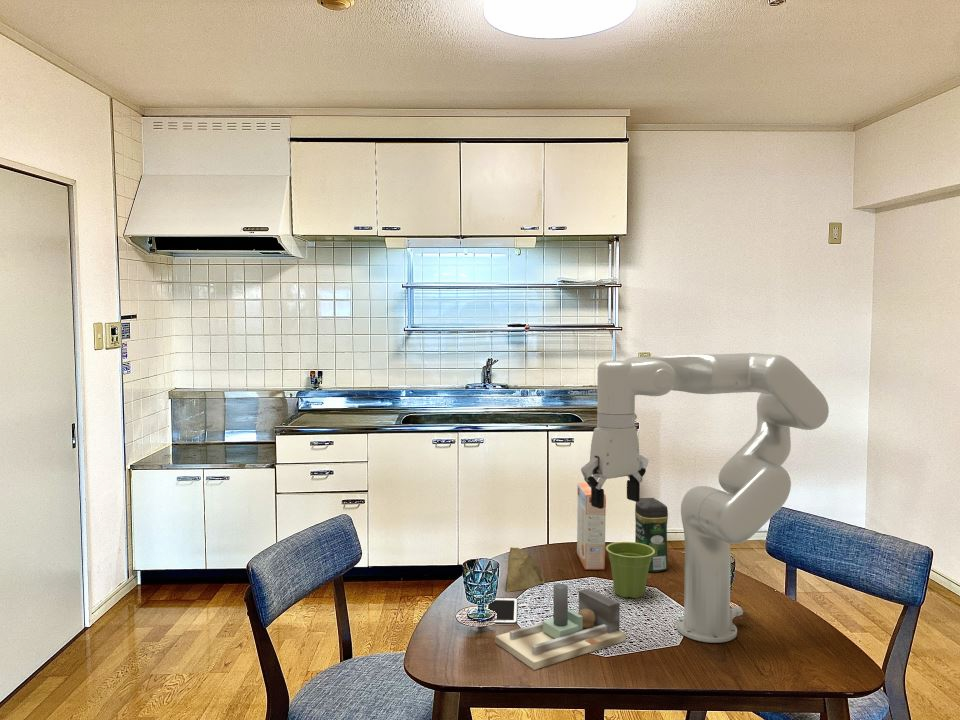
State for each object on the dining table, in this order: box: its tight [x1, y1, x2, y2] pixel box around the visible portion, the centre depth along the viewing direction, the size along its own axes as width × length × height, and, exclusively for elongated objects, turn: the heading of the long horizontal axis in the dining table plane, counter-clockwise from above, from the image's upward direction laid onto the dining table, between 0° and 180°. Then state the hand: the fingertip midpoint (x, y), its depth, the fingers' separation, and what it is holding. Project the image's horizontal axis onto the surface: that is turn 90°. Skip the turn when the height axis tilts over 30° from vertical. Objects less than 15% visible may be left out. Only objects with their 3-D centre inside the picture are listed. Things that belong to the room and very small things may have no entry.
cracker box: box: [576, 482, 607, 571], centre depth 206 cm, size 14×6×21 cm, turn 1°
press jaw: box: [542, 583, 583, 639], centre depth 157 cm, size 6×6×10 cm
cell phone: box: [487, 596, 518, 625], centre depth 173 cm, size 8×15×1 cm, turn 177°
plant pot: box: [605, 541, 655, 599], centre depth 183 cm, size 12×12×11 cm
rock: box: [505, 546, 545, 593], centre depth 188 cm, size 11×9×10 cm
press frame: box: [494, 587, 627, 671], centre depth 157 cm, size 24×14×8 cm, turn 122°
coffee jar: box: [634, 497, 669, 573], centre depth 202 cm, size 10×8×19 cm
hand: (615, 503), depth 152 cm, fingers open, 9 cm apart
